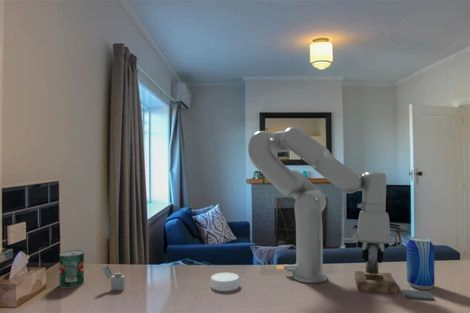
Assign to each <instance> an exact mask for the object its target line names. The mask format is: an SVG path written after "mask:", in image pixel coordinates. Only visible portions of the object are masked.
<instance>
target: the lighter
mask: <svg viewBox="0 0 470 313" xmlns="http://www.w3.org/2000/svg"><path fill="white" fill-rule="evenodd" d="M102 270H103V273H104V275H105V276H106V278H107V279H110V290H111V291H123V290H125V288H126V284H125V283H126V280H125V279H126V278H125V277H126V276H125V275H123V274H122V273H121V272H115V273H114V275H113V272H112V270H111V268H110V266H109V265H108V264H106V265H104V266H102Z"/></svg>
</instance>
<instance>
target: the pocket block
mask: <svg viewBox="0 0 470 313" xmlns="http://www.w3.org/2000/svg"><path fill="white" fill-rule="evenodd" d="M354 282H355V285H356V288H357V291H358V292H363V293H365V292H366V293H377V294H378V293H379V294H388V295H389V294H390V295H398V284H397V281H396V280H395V278H394V277H393V275H392V273H391V272H390V273H389V272H378V274H370V273H367V272H366V271H360V270H354Z"/></svg>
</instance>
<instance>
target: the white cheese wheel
mask: <svg viewBox="0 0 470 313" xmlns="http://www.w3.org/2000/svg"><path fill="white" fill-rule="evenodd" d="M240 283H241V281H240V276H239V275H238V274H237V273H233V272H218V273H214V274H212V275H211V276H210V288H211V289H212V290H214V291H217V292H218V291H219V292H232V291H236V290H238V289H240Z"/></svg>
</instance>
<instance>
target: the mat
mask: <svg viewBox="0 0 470 313" xmlns="http://www.w3.org/2000/svg"><path fill="white" fill-rule="evenodd" d="M401 292H402V293H403V295H404V296H405V298H406V299H408V300H409V299H413V300H422V301H423V300H424V301H436V300H435V299H436V298H435V297H434V296H433V295H432V293H431V292H430V291H427V290H426V291H425V290H413V289H401Z"/></svg>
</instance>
